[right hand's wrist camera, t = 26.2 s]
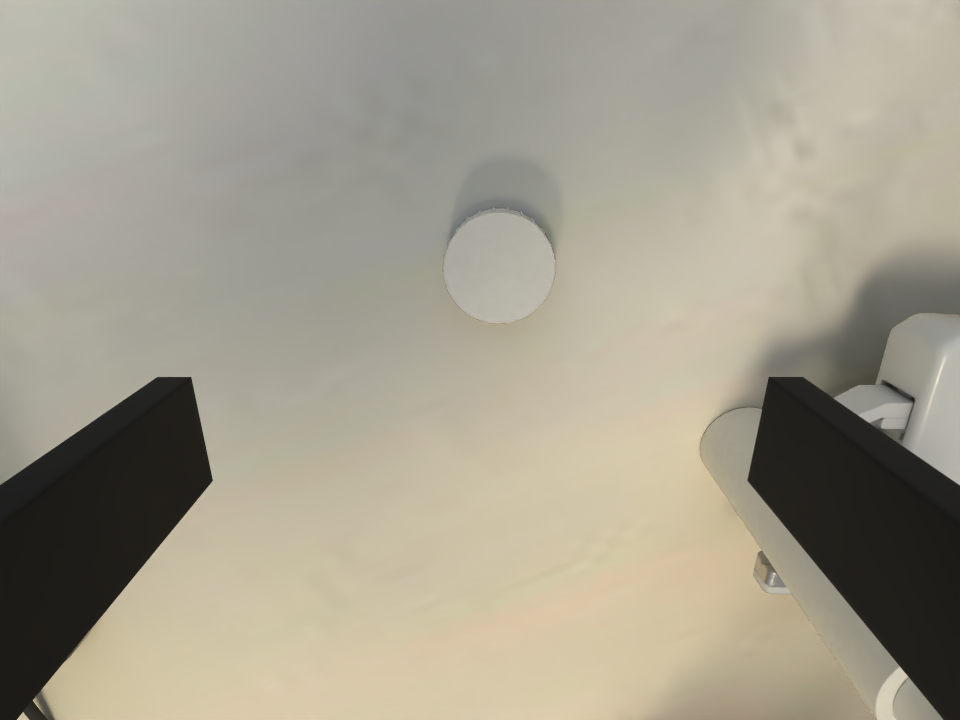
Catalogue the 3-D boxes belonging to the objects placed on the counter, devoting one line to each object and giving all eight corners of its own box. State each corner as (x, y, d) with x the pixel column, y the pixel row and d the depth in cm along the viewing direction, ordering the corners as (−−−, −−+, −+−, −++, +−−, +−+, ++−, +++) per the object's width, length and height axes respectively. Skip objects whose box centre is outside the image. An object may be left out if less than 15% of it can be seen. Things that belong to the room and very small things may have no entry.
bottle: (802, 427, 33) (1145, 732, 16) (751, 491, 35) (1009, 829, 18) (731, 393, 33) (1008, 674, 15) (683, 460, 35) (880, 781, 17)
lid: (423, 267, 30) (418, 276, 28) (493, 182, 29) (493, 185, 27) (503, 333, 32) (504, 346, 30) (574, 256, 30) (580, 264, 28)
